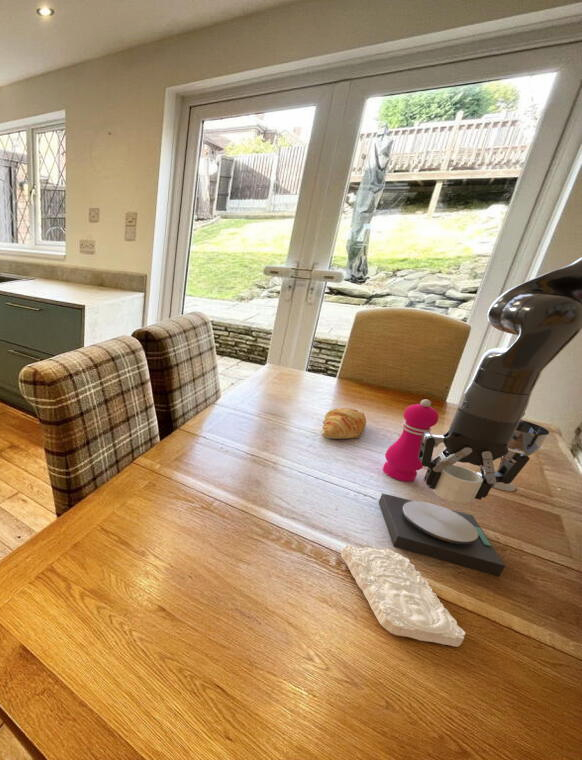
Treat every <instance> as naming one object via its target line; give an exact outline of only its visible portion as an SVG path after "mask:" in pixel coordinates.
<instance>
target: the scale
mask: <svg viewBox="0 0 582 760" xmlns="http://www.w3.org/2000/svg"><path fill="white" fill-rule="evenodd" d="M411 501H413V500H412V499H407V498H403V497H399V496H395V495H390V494H387V493H381V495H380V497H379V500H378V504H379V508H380V510H381V513H382V517H383V518H384V522H385V526H386V528H387V532H388V534H389V537H390V540H391V543H392V546H393V547H395V548H398V549H402V550H405V551H409V552H412V553H414V554H415V553H416V554H419V555H423V556H427V557H429V558H434V559H437V560H440V561H443V562H448V563H450V564H453V565H458V566H461V567H464V568H467V569H472V570H475V571H479V572H482V573H486V574H489V575H492V576H496V577H500V576H501V574H502V573H503V571H504V569H505V568H506V565H505V563H504V562H503V560H502V558H501V557H500V555H499V553H498V552H497V551H496V549H495V547H494V546H493V545H492V543H491V541H490V540H489V538H488V537H487V535H486V534H485V532H484V530H483V529H482V528H481V526H480V525H479V523H478V522H477V520H476V518H475V517H474V515H473V514H469V513H465V512H461V511H457V510H452V509H450V510H451V511H453V512H455V513H457V514H458V515H460V516H462V517H463V518H465V519H466V520H467V521H469V522H470V523H471V524H472V525H473V526H474V527H475V528H476V530H477V532H478V538H477V540H476V541H475V542H473V543H470V544H457V543H452V542H448V541H444V540H441V539H438V538H436V537H433V536H431V535H429V534H427V533H425V532H423V531H422V530H420V529H418V528H417V527H415V526H414V525H413V524H411V523H410V522H409V521H408V520H407V519H406V518H405V516H404V515H403V512H402V508H403V506H404V504H406V503H407V502H411Z"/></svg>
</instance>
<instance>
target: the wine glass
mask: <svg viewBox="0 0 582 760" xmlns="http://www.w3.org/2000/svg"><path fill="white" fill-rule="evenodd" d="M549 434H550V431H549V430H548V429H547V428H545V427H543V426H541V425H538V424H536V423H533V422H531V421H527V420H523V419H521V421H520V423H519V425H518V427H517V429H516V431H515V433H514V435H513V437H512V439H511V441H510V442H509V443H508V445H507V447H508V448H510V449H513V450H514V449H521V450H522V451H523V452H524V453H525V454H526V455H527V456H528V457H529V456H532V455H533V454H535V453H536V452H537V451H538V450H540V448H541V447H542V446H543V445H544V443H545V441H546V440H547V438H548V436H549ZM499 459H500V461H499V465H498V469H499V468H500V467H501V465H502V464H503V463H504V461H505V460H506V458H505V455H504V456H502V457H500V458H499ZM498 469H497V470H498ZM477 473H478V474H479V475H480V476H482V475H481V471H478V472H477ZM491 488H493V489H496V490H499V491H505V492H515V491H516V490H517V487H516V485H515V484H514V483H513V482H511V483H509V484H504V483H503V482H497V483H494V484H493V485H492V487H491Z"/></svg>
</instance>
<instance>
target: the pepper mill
mask: <svg viewBox="0 0 582 760" xmlns="http://www.w3.org/2000/svg"><path fill="white" fill-rule="evenodd" d="M431 405H432V401H431V400H430V399H422V400H421V401H420V403H416V404H411V405H409V406H407V407H406V408H405V410H404V412H403V418H404V421H403V422H402V425H401V428H402V433H401V434H400V436H399V438H398V439H397V440H395V441H394V442H393V443H392V444H391V445H390V446H389V447H388V448H387V450H386V452H385V454H384V457H385V460H386V461H385V462H384V464H383V467H382V471H383V472H384V474H386V475H387V476H389V477H391V478H392V479H394V480H398V481H401V482H408V483H411V482H413V481H415V480H416V478H417V475H418V472H417V471H419V470H422V468H423V467H424V466H423V465H422V464H421V461H420V460H419V458H418V456H419V451H420V445H421V440H422V435H423V433H424V432H429V433H430V434H431V431H432V428H431V427H434V426H435V425H437V424H438V422H439V418H440V417H439V413H438V412H437V410H436V409H435V408H433V407H432V406H431Z"/></svg>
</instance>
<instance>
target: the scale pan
mask: <svg viewBox="0 0 582 760" xmlns="http://www.w3.org/2000/svg"><path fill="white" fill-rule="evenodd" d="M451 510H452V509H449V508H446V507H443V506H441V505H438V504H435V503H431V502H427V501H420V500H412V501H411V502H407V503H406V504H404V506H403V508H402V512H403V515H404V516H405V518H406V519H407V520H408V521H409V522H410V523H411V524H413V525H414V526H415V527H417V528H418V529H420V530H422V531H423V532H425V533H427V534H429V535H431V536H433V537H436V538H438V539H441V540H444V541H448V542H452V543H457V544H470V543H473V542H475V541H476V540H477V538H478V532H477V530H476V528H475V527H474V526H473V525H472V524H471V523H470V522H469V521H467V520H466V519H465V518H463V517H462V516H460V515H458V514H457V513H455V512H453V511H454V510H453V511H451Z"/></svg>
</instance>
